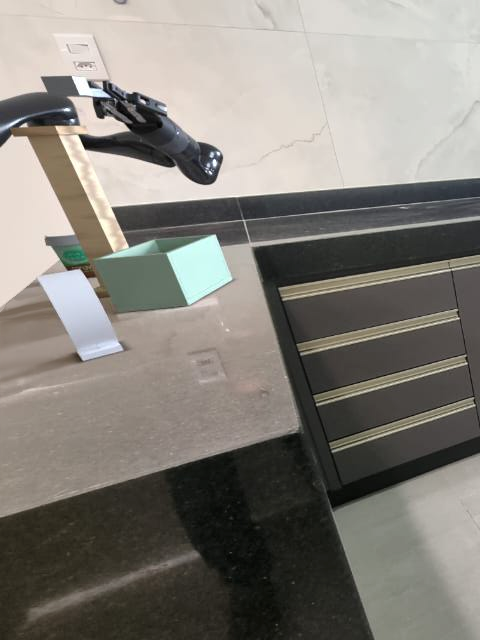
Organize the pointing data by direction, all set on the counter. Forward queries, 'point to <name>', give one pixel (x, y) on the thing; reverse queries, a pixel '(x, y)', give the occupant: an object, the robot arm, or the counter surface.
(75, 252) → the food container
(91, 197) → the wooden stand
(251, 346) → the counter surface
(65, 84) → the grey and white block
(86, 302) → the white curved stand
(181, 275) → the bin
